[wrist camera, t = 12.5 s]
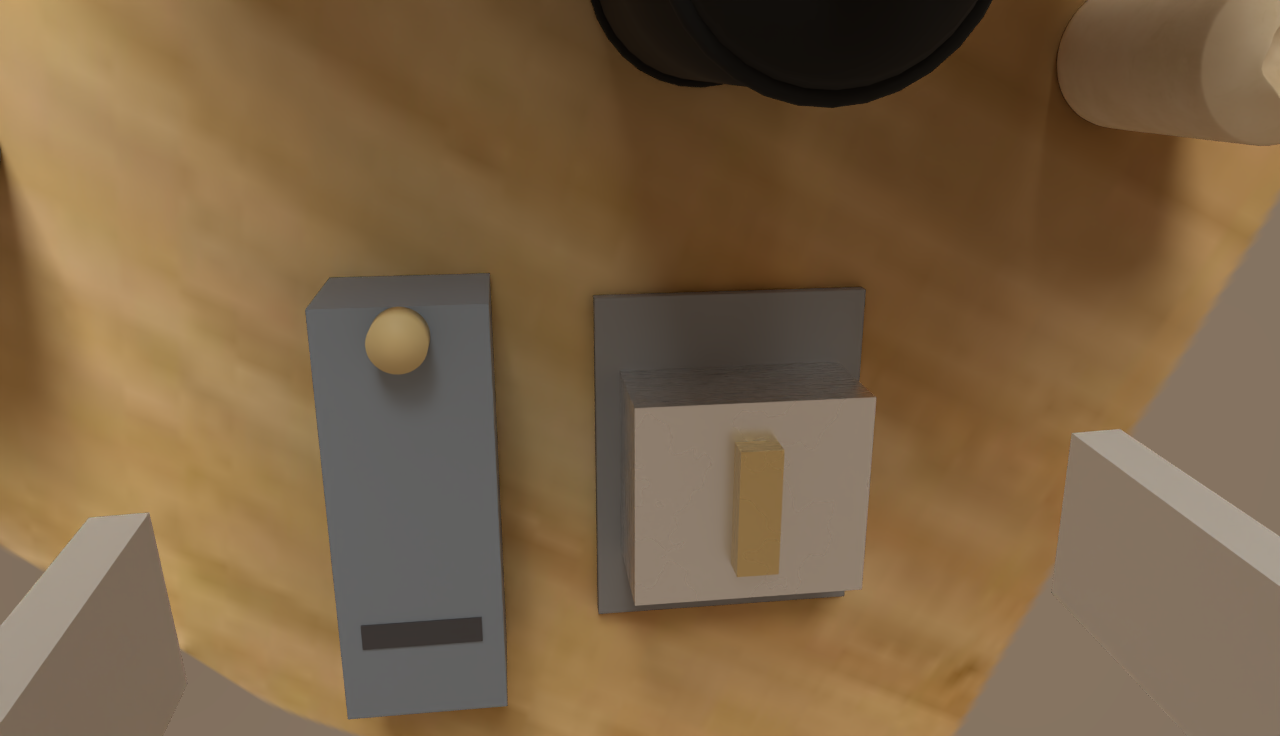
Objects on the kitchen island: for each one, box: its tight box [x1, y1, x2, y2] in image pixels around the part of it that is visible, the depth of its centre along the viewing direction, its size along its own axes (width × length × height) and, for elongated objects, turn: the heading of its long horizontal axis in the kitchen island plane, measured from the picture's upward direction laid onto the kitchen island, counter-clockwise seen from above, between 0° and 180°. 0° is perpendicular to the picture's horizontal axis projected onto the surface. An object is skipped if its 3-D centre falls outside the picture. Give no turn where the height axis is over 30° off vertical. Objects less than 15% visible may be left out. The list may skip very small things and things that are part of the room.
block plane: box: [305, 273, 507, 719], centre depth 37 cm, size 16×6×6 cm, turn 0°
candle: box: [1057, 0, 1280, 146], centre depth 34 cm, size 6×6×10 cm
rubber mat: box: [593, 287, 866, 614], centre depth 42 cm, size 14×11×1 cm
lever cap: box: [620, 362, 876, 606], centre depth 39 cm, size 8×9×6 cm
